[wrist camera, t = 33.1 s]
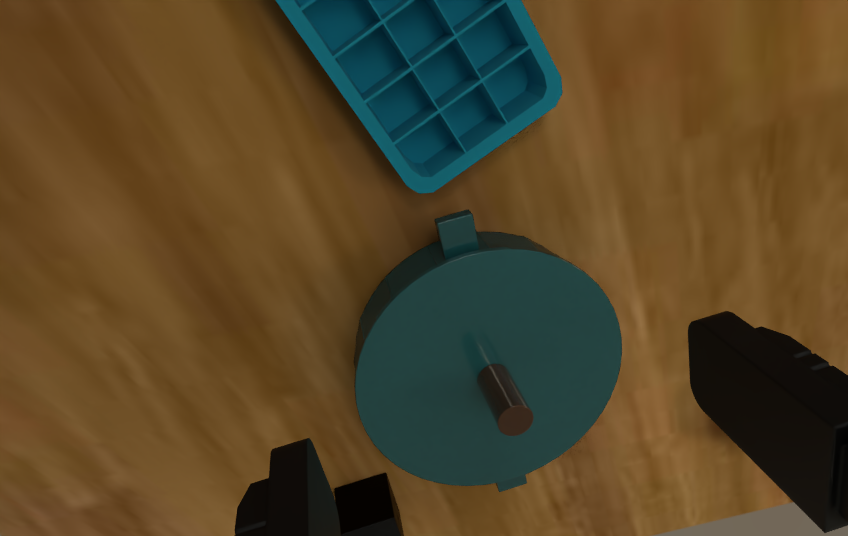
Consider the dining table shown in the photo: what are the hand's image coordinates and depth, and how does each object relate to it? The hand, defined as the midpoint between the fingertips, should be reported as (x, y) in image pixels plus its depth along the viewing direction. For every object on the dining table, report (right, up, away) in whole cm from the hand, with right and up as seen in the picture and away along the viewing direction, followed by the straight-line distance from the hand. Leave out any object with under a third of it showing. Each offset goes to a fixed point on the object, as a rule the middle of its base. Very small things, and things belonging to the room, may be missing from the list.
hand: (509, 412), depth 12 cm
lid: (+3, -5, +31) cm, 32 cm away
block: (-7, -17, +39) cm, 43 cm away
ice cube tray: (-3, +19, +25) cm, 31 cm away
